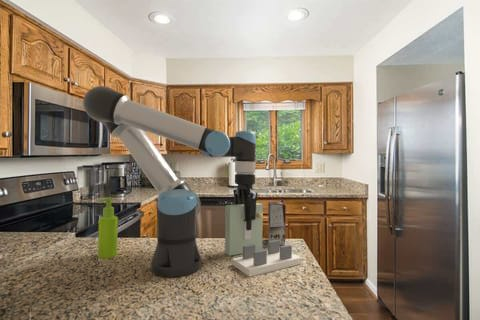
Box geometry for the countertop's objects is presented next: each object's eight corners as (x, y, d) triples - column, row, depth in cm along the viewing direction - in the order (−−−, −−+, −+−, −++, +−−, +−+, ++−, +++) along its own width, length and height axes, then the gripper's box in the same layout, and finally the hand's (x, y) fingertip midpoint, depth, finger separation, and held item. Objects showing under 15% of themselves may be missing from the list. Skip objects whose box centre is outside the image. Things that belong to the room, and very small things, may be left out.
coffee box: (285, 245, 105) (286, 204, 105) (269, 245, 105) (269, 204, 106) (282, 238, 114) (282, 201, 115) (267, 238, 115) (267, 201, 115)
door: (231, 257, 91) (232, 207, 91) (224, 252, 95) (225, 205, 95) (264, 250, 98) (265, 204, 98) (256, 247, 102) (257, 202, 103)
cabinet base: (249, 276, 76) (249, 255, 76) (232, 265, 84) (232, 246, 85) (301, 263, 86) (301, 245, 86) (281, 254, 95) (281, 237, 95)
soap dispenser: (91, 258, 89) (92, 198, 89) (108, 251, 96) (109, 196, 96) (104, 260, 87) (105, 199, 87) (120, 254, 93) (121, 197, 94)
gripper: (266, 174, 92) (265, 241, 92) (242, 172, 107) (241, 230, 106) (248, 174, 89) (247, 244, 88) (225, 172, 103) (224, 233, 103)
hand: (244, 237), depth 97 cm, fingers closed on door, 3 cm apart
